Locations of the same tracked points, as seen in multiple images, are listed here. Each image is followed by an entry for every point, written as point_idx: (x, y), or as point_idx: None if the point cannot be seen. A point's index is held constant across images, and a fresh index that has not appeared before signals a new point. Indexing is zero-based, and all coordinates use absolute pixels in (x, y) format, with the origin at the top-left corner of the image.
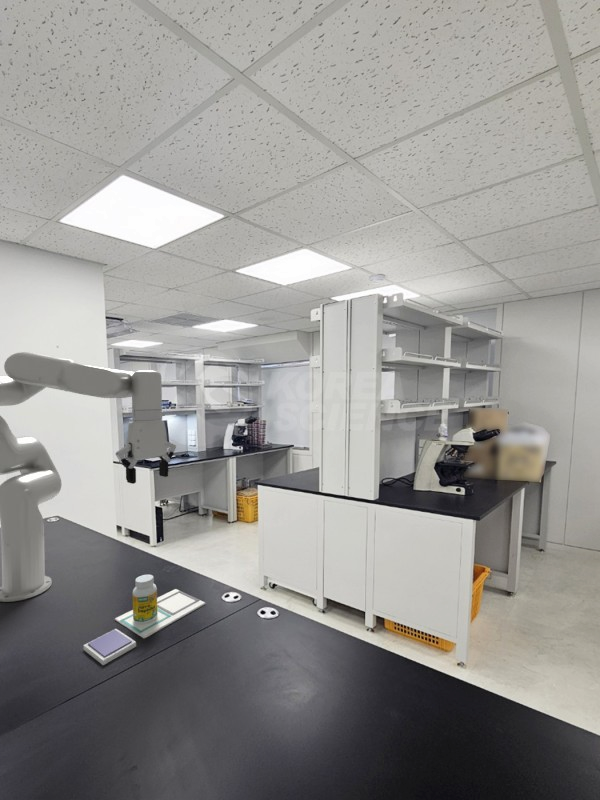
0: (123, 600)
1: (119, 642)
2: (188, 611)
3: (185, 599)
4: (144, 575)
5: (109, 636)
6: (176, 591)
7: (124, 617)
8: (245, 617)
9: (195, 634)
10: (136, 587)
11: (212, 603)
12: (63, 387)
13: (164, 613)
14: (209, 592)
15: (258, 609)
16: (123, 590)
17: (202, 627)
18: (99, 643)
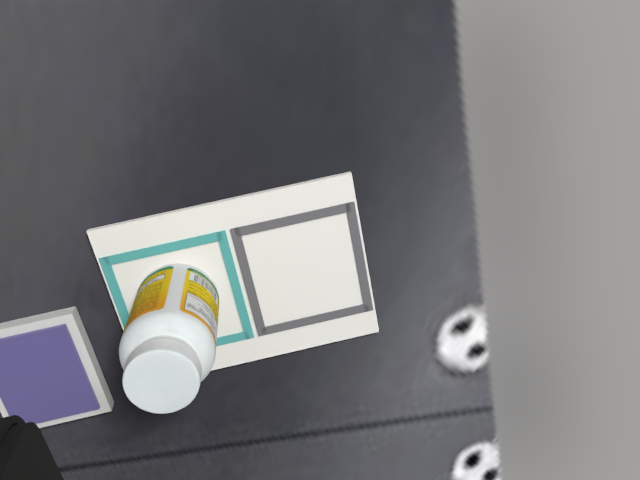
0: (149, 102)
1: (64, 397)
2: (309, 345)
3: (339, 272)
4: (169, 359)
5: (42, 351)
6: (343, 195)
7: (117, 247)
8: (421, 454)
9: (272, 443)
10: (134, 348)
11: (398, 338)
12: None
13: (241, 312)
14: (433, 269)
15: (473, 443)
16: (172, 5)
17: (304, 428)
18: (8, 368)
